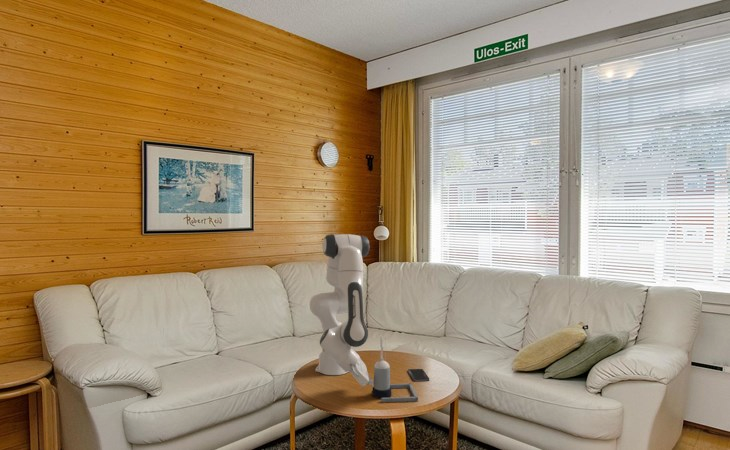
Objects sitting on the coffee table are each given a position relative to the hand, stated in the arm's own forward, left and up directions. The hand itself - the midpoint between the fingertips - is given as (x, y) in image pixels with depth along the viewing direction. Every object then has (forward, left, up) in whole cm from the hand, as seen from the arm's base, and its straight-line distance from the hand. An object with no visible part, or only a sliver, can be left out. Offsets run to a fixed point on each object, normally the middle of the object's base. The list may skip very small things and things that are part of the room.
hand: (372, 383), depth 194 cm
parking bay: (0, +10, -5) cm, 11 cm away
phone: (-22, +24, -5) cm, 33 cm away
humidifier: (0, +4, -5) cm, 6 cm away
